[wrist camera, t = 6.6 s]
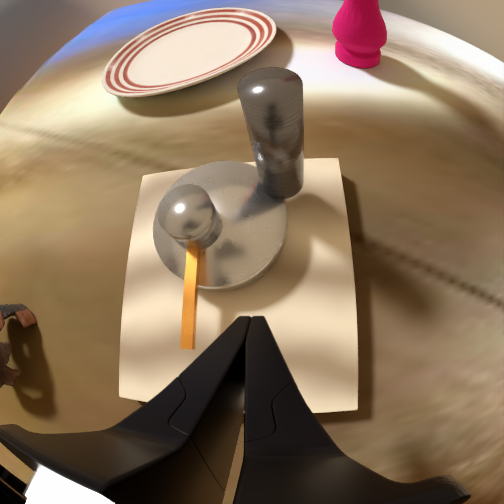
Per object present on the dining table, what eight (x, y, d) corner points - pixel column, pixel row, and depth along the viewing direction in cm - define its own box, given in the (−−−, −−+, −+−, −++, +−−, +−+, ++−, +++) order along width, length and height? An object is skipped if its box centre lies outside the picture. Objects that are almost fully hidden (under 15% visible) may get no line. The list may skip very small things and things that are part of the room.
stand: (352, 404, 19) (357, 410, 17) (131, 394, 21) (118, 396, 19) (335, 171, 25) (337, 156, 23) (151, 185, 28) (142, 174, 26)
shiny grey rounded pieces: (355, 261, 20) (403, 176, 10) (196, 354, 20) (102, 349, 9) (268, 145, 25) (249, 40, 14) (138, 219, 24) (60, 145, 14)
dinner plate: (154, 29, 43) (148, 17, 40) (289, 16, 38) (287, 1, 35) (81, 121, 35) (70, 107, 32) (256, 111, 30) (252, 89, 27)
